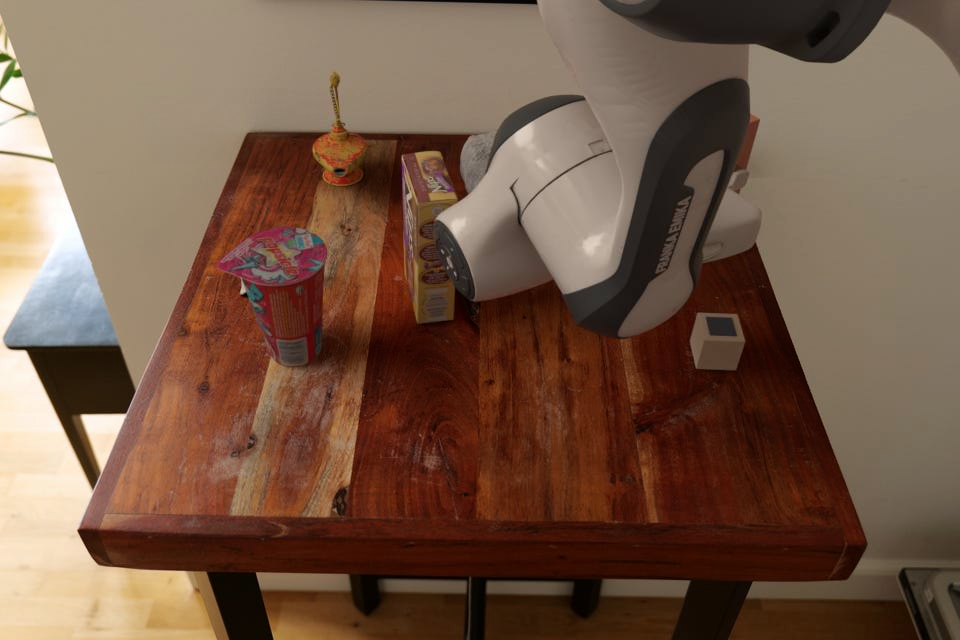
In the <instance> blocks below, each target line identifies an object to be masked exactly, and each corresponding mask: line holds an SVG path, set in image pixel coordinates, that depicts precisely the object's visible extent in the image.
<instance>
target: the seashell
mask: <svg viewBox="0 0 960 640" xmlns="http://www.w3.org/2000/svg"><path fill="white" fill-rule="evenodd" d="M497 130H498V129H494V130H492V131H488V132H485V133H479V134H477V135H476V134H474V133H473V134H471V135H469V137H468V138H467V140H466V141H465V143H464V144H463V147H462V149H461V152H460V157H459V158H460V164H459V172H460V176H461V178H462V180H463V183H464V187H465V190H466V192H467V195H468V194H470V193H471V192H472V190H473V189H474V188H475V187H476V186H477V185H478V184H479V182H480V181H481V180H482V178H483V177H484V176H485V172H486V167H487V163H488V159H489V156H490V152H491V149H492V145H493V142H494V138H495V135H496V133H497Z"/></svg>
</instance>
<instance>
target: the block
mask: <svg viewBox="0 0 960 640" xmlns="http://www.w3.org/2000/svg"><path fill="white" fill-rule="evenodd" d="M689 344H690V348H691V353H692V358H693V362H694V365H695V369H696V370H713V371H714V370H715V371H737V368H738V365H739V363H740V359H741V356H742V353H743V350H744V347H745V344H746V339H745V335H744V333H743V329H742V325H741V322H740V319H739V314H738V313H718V312H717V313H716V312H714V313H713V312H696V317H695V320H694V324H693V327H692V332H691V336H690V339H689Z"/></svg>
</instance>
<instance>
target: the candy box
mask: <svg viewBox="0 0 960 640" xmlns="http://www.w3.org/2000/svg"><path fill="white" fill-rule="evenodd" d="M451 178H452V177H450V175H449V171H448V168H447V166H446V163H445V161H444V157H443V155H442V152H441V151H437V150H426V151H419V152H412V153H406V154H402V155H401V181H402V185H401V186H402V187H401V188H402V189H401V190H402V226H403V227H402V228H403V232H402V233H403V266H404V267H403V268H404V276H405V281H406V285H407V288H408V292H409V296H410V300H411V303H412V307H413V312H414V316H415V320H416V323H417V324H418V325H420V324H429V323H430V324H431V323H439V322H446V321H447V322H448V321H454V319H455V304H456V303H455V302H456V301H455V300H456V299H455V298H456V287H455V286H454V284H453V283H452V281H451V279H450V278H449V276H448V274H447V273H446V271H445V269H444V267H443V265H442V263H441V261H440V259H439V255H438V252H437V250H436V248H435V243H434V238H433V230H434V229H433V228H434V222H435V219H436V217H437V216H438V215H439V214H440V213H441V212H443V211H444V210H446V209H447V208H449V207H451V206H453V205H454V204H456V203H457V202H459V198H458V194H457V192H456V189H455V186H454V183H453V181H452V179H451Z"/></svg>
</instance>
